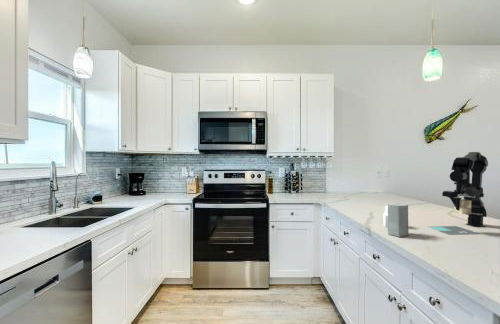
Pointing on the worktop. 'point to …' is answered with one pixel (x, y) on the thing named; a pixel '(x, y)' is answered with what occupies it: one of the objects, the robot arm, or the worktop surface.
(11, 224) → the worktop surface
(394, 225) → the skincare box
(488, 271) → the worktop surface
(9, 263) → the worktop surface
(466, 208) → the maple block
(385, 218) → the medicine bottle
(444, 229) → the mat
